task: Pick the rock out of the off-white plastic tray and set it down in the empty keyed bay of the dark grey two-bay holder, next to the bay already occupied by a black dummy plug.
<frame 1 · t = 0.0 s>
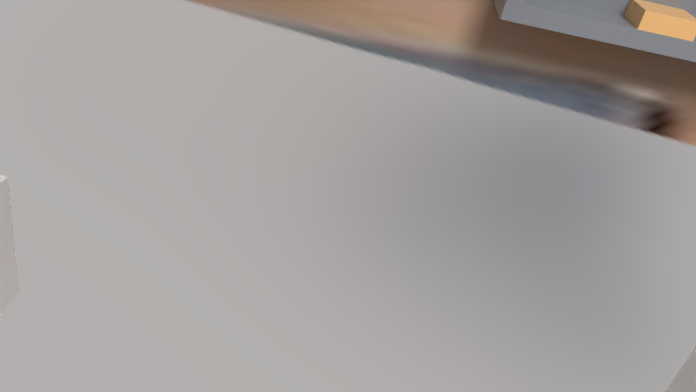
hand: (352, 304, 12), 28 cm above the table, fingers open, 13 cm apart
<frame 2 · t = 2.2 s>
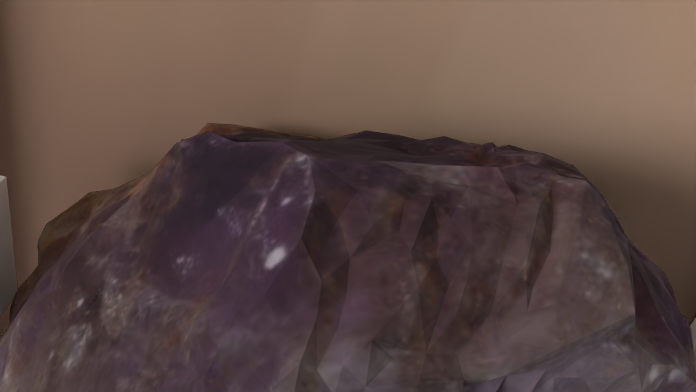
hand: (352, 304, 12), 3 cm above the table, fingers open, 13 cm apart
rock: (362, 214, 14), on the table
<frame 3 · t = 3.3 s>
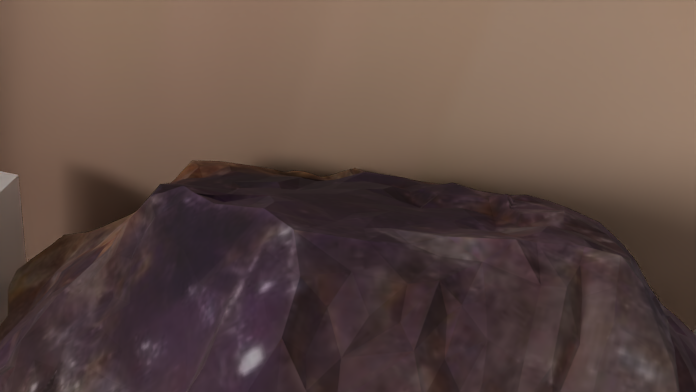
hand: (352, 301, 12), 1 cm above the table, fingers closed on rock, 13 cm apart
rock: (363, 252, 13), on the table, touching gripper
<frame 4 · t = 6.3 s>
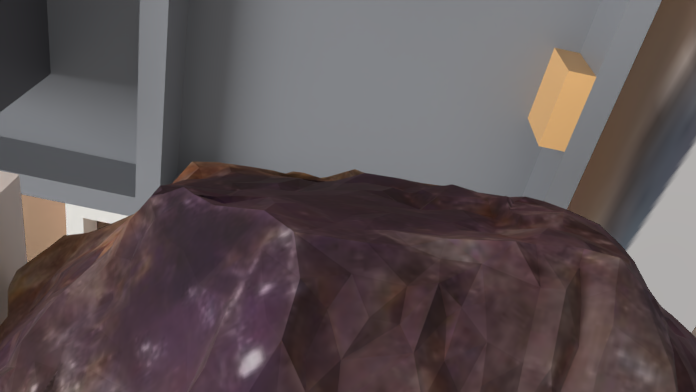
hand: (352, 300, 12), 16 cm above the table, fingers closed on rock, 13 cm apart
rock: (363, 253, 13), point 14 cm above the table, touching gripper
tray: (253, 346, 35), on the table
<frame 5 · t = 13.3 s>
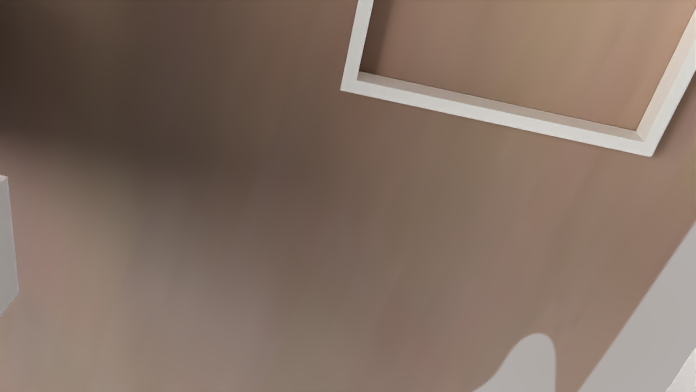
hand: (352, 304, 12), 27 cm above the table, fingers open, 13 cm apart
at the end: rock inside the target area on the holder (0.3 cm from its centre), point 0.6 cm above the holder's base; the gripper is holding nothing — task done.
